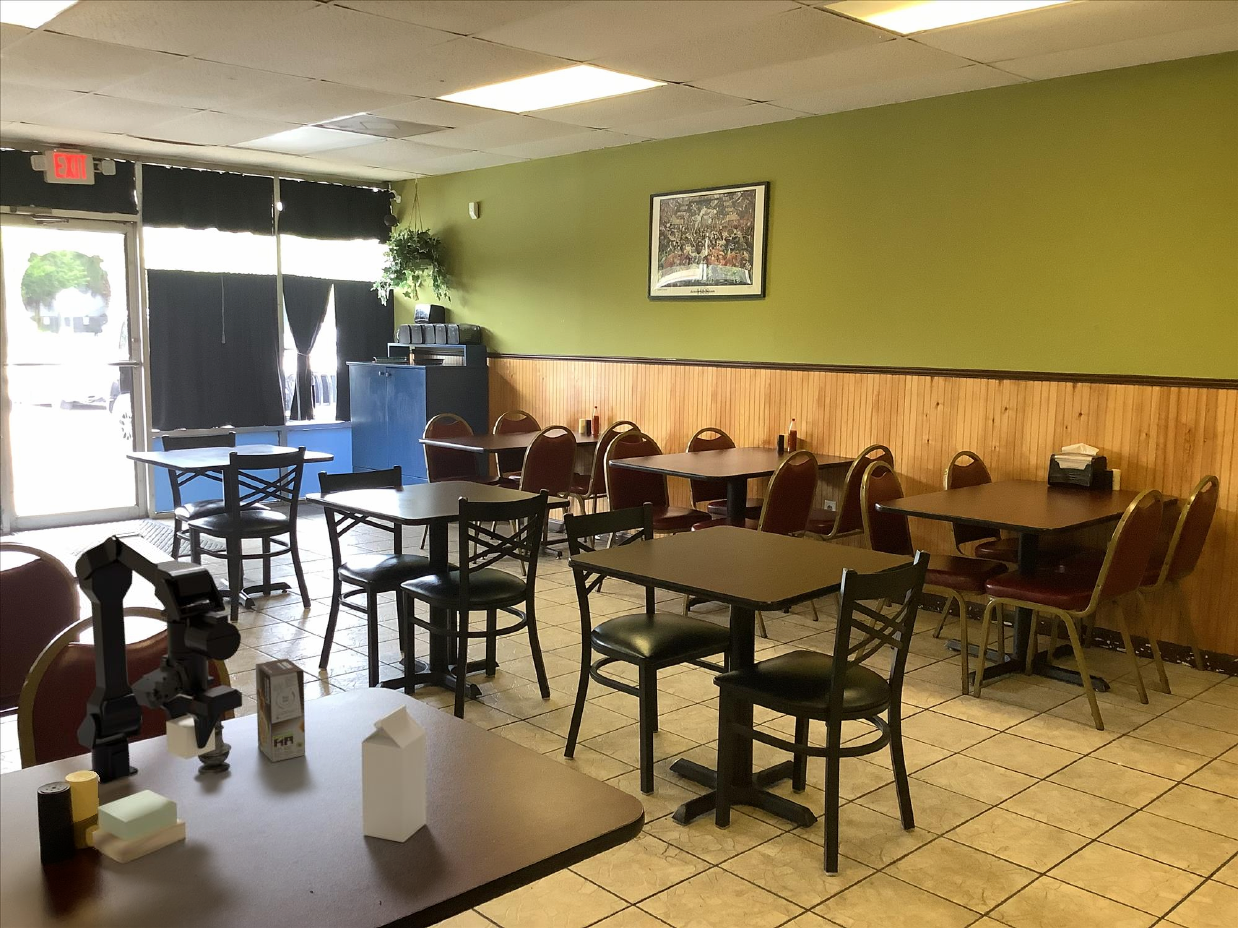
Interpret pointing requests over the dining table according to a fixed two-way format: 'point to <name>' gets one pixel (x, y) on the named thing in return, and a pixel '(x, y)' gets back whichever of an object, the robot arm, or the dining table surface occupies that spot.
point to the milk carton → (394, 777)
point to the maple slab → (137, 842)
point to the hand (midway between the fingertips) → (190, 744)
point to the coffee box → (280, 709)
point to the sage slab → (137, 815)
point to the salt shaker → (216, 754)
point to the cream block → (185, 738)
